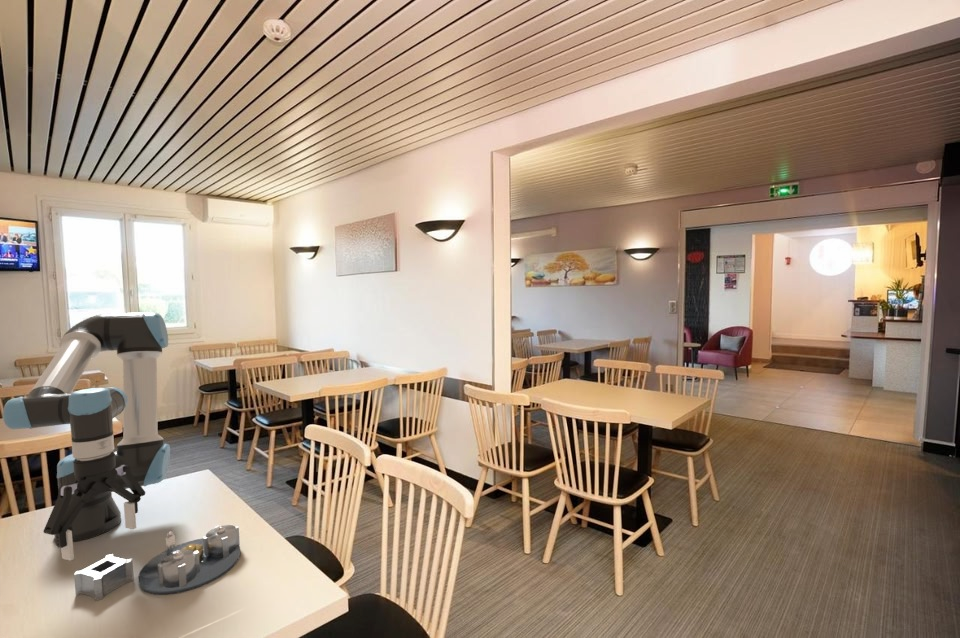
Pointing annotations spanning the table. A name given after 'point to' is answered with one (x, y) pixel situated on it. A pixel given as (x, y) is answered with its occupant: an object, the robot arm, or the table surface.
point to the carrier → (191, 562)
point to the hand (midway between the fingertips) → (101, 542)
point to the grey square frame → (103, 576)
